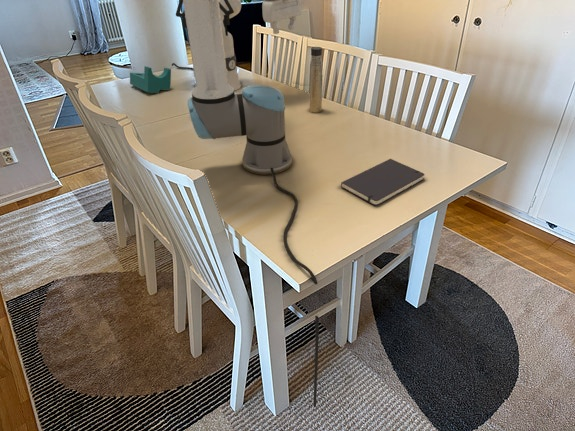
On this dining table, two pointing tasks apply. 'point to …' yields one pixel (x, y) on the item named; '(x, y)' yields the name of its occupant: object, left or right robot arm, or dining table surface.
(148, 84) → the green notched holder
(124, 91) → the dining table surface
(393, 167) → the notebook
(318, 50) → the cap
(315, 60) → the bottle
